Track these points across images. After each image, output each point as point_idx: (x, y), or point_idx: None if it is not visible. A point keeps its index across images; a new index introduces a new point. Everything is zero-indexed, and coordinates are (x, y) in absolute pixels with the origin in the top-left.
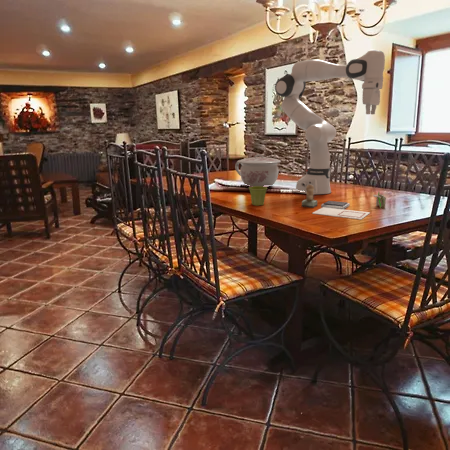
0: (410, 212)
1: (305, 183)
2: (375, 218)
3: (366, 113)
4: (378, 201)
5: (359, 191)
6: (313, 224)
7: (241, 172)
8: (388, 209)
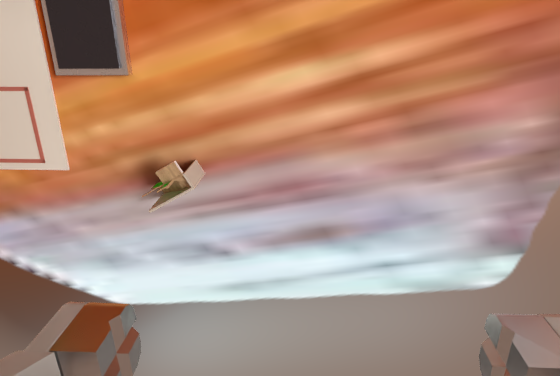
0: (157, 267)
1: None
2: (16, 198)
3: (66, 315)
4: (194, 171)
5: (492, 8)
6: None
7: None
8: None
